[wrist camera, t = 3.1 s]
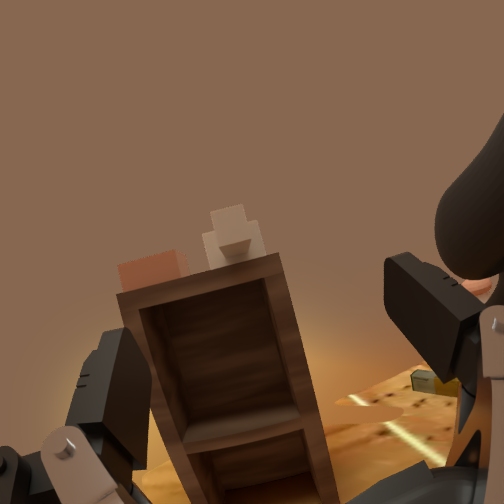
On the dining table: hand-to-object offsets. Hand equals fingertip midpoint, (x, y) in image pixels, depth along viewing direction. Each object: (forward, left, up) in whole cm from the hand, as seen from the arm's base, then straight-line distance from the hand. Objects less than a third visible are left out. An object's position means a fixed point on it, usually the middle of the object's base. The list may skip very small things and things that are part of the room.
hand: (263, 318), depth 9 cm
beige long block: (-4, -23, +3) cm, 23 cm away
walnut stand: (0, -29, -29) cm, 41 cm away
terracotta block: (+4, -28, +3) cm, 28 cm away
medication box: (-36, -35, -29) cm, 58 cm away
